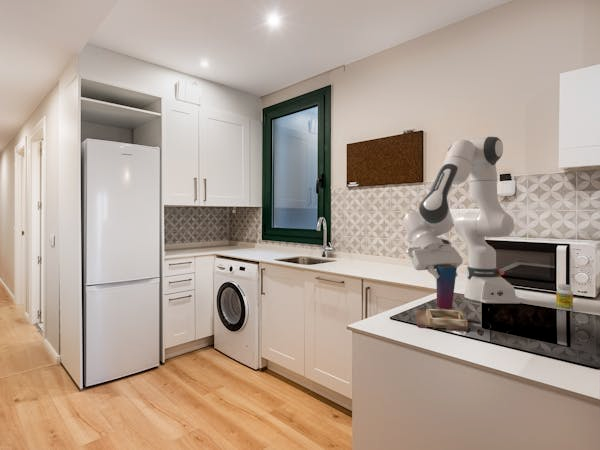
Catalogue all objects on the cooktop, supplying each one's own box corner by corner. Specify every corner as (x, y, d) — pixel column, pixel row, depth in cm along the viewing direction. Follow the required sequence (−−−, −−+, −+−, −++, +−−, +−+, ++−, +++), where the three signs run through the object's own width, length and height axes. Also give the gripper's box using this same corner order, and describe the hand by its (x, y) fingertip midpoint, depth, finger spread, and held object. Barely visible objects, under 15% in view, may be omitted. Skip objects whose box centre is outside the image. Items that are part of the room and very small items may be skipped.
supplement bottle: (571, 307, 143) (572, 284, 142) (574, 311, 138) (574, 287, 138) (555, 306, 145) (555, 283, 145) (557, 309, 141) (557, 285, 140)
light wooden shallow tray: (457, 314, 135) (458, 307, 135) (468, 330, 117) (468, 321, 117) (414, 312, 139) (414, 304, 139) (417, 327, 121) (417, 318, 121)
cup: (438, 302, 131) (440, 263, 129) (457, 306, 126) (459, 265, 125) (431, 307, 126) (433, 265, 124) (451, 311, 121) (453, 268, 120)
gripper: (409, 242, 127) (428, 273, 118) (453, 240, 134) (473, 270, 126) (401, 253, 132) (419, 284, 123) (444, 251, 139) (463, 280, 130)
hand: (447, 277), depth 124 cm, fingers closed on cup, 6 cm apart
